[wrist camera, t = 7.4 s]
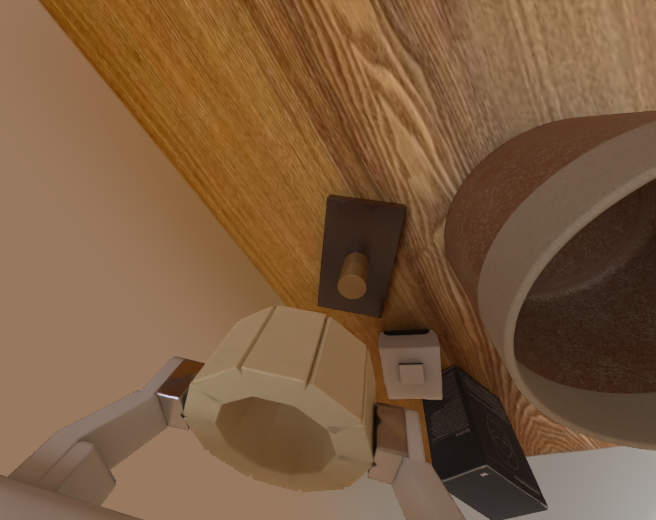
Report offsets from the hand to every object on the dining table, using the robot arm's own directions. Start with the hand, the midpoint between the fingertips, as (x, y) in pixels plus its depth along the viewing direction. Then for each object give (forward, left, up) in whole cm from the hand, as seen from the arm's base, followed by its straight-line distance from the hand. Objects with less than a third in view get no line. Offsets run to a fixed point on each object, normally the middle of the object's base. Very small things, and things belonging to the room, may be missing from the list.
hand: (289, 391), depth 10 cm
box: (+18, +17, -18) cm, 30 cm away
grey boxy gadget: (+11, +9, -18) cm, 23 cm away
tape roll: (0, 0, -1) cm, 1 cm away
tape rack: (+2, +2, -18) cm, 18 cm away
